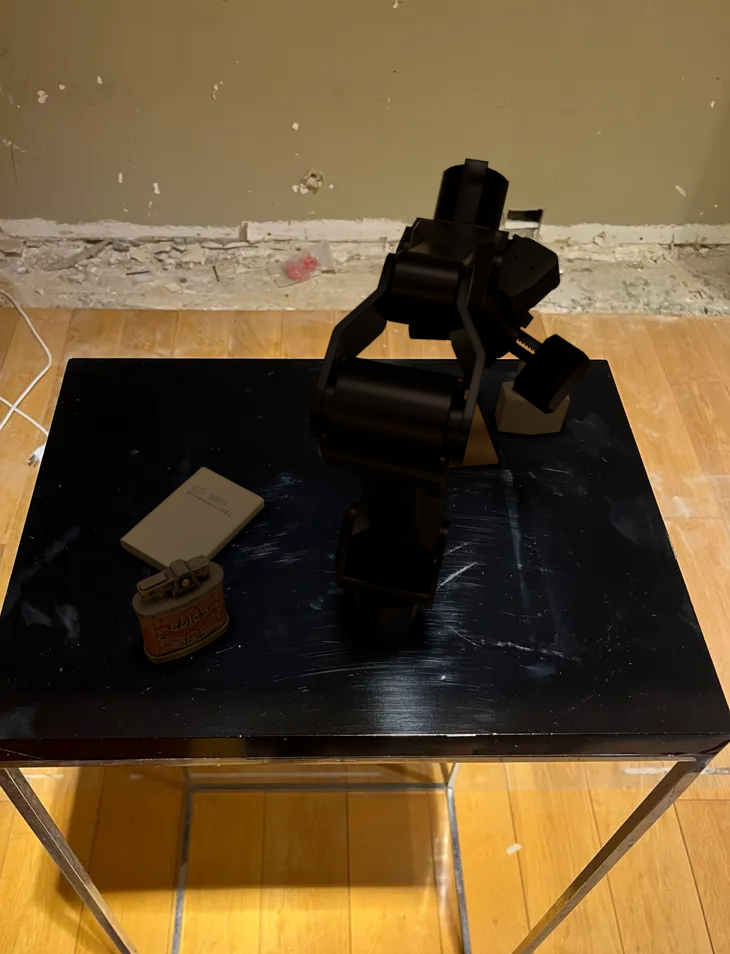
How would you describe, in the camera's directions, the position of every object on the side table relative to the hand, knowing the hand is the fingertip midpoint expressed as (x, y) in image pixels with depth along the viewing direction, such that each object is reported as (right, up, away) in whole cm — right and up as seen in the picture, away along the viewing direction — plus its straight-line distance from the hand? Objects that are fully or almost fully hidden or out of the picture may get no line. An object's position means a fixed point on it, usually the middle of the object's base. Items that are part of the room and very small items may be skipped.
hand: (524, 362), depth 86 cm
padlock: (+2, -5, +9) cm, 11 cm away
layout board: (-9, -6, +8) cm, 14 cm away
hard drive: (-34, -17, -2) cm, 38 cm away
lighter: (-33, -27, -11) cm, 44 cm away
